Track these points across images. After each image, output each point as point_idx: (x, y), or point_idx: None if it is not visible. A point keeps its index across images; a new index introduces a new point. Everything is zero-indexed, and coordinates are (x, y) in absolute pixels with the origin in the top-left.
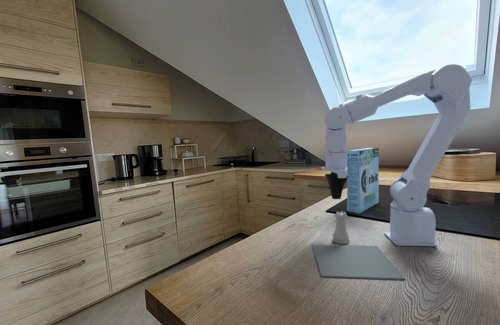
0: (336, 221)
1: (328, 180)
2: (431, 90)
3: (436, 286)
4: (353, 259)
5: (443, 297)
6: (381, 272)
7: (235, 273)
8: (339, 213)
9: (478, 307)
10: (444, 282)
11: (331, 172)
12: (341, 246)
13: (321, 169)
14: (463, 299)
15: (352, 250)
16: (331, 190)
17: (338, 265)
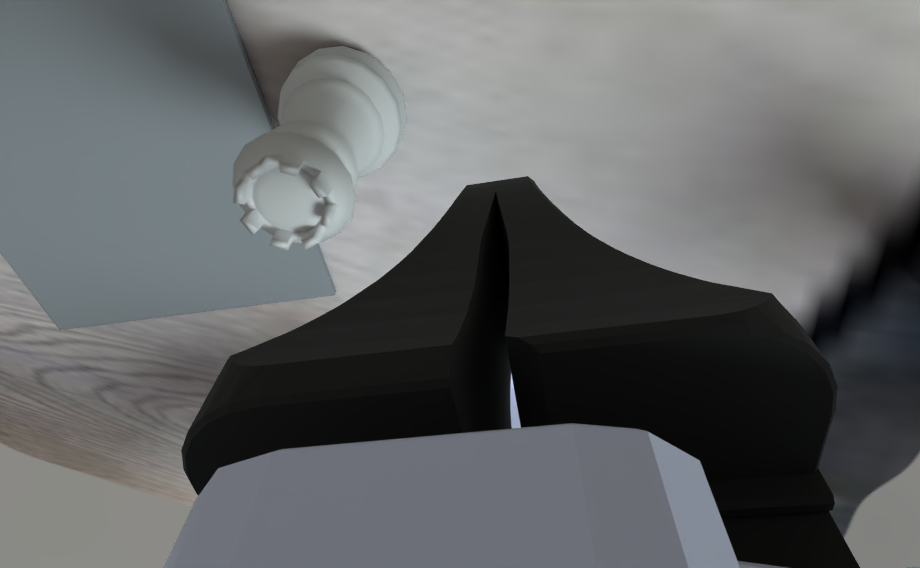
0: (281, 130)
1: (438, 309)
2: None
3: (85, 393)
4: (98, 160)
5: (26, 389)
6: (49, 262)
7: None
8: (295, 190)
9: (35, 439)
10: (129, 418)
11: (760, 550)
12: (241, 105)
13: (496, 432)
14: (53, 426)
15: (214, 167)
16: (428, 235)
17: None
